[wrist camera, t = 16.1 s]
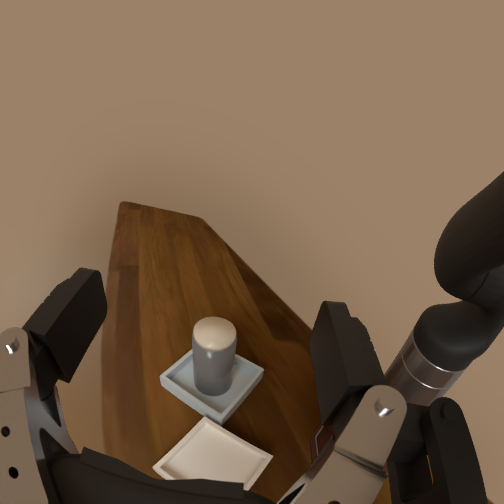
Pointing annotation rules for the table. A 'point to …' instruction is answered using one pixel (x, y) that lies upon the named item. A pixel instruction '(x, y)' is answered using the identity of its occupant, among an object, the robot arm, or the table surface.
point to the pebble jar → (213, 355)
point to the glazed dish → (212, 407)
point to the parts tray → (213, 457)
